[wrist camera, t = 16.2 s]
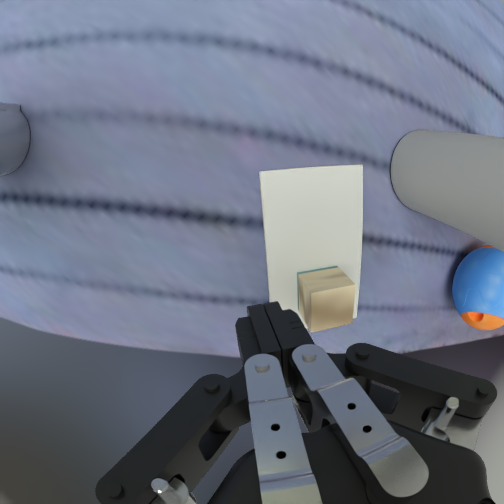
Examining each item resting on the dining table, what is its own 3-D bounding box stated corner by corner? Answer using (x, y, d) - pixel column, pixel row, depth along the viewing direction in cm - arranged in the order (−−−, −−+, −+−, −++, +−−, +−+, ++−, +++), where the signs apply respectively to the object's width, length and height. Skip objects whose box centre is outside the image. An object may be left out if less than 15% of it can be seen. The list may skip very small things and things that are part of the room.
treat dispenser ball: (492, 254, 48) (542, 283, 34) (458, 313, 52) (502, 351, 38) (465, 220, 44) (526, 249, 29) (425, 292, 47) (479, 336, 33)
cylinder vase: (375, 189, 39) (523, 252, 16) (404, 114, 35) (554, 123, 12) (428, 221, 42) (550, 285, 19) (453, 154, 39) (579, 187, 16)
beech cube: (310, 332, 37) (297, 309, 43) (352, 323, 38) (335, 301, 43) (311, 293, 35) (296, 272, 40) (355, 284, 36) (336, 265, 41)
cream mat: (258, 171, 35) (259, 171, 35) (360, 164, 37) (362, 164, 36) (271, 333, 44) (272, 335, 44) (354, 315, 46) (356, 317, 45)
